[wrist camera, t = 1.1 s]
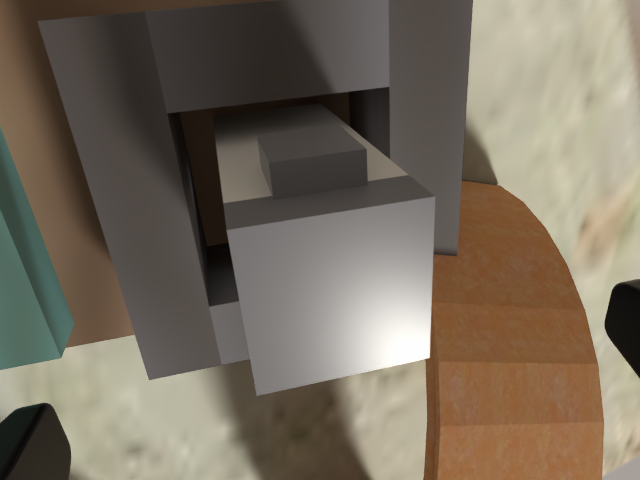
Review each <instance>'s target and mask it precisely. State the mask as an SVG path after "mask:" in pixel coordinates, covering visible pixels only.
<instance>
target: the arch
mask: <svg viewBox="0 0 640 480" xmlns="http://www.w3.org/2000/svg"><path fill="white" fill-rule="evenodd" d="M425 360H426V388H427V433H426V451H425V469H424V479H423V480H602V465H603V436H604V418H603V408H602V398H601V389H600V379H599V369H598V362H597V358H596V354H595V350H594V346H593V341H592V337H591V333H590V329H589V325H588V321H587V316H586V312H585V309H584V307H583V304H582V301H581V299H580V296H579V294H578V291H577V289H576V286H575V284H574V281H573V279H572V276H571V273H570V271H569V268H568V266H567V264H566V262H565V260H564V259H563V257H562V255H561V254H560V252H559V250H558V248H557V247H556V245H555V243H554V242H553V240H552V238H551V236H550V235H549V233H548V231H547V230H546V228H545V227H544V226H543V225H542V223H541V222H540V221H539V220H538V219H537V218H536V216H535V215H534V214H533V213H532V212H531V211H530V209H529V208H528V207H527V206H526V205H525V204H524V202H522V201H521V200H520V199H518V198H517V197H515V196H514V195H513V194H511V193H510V192H508V191H507V190H505V189H504V188H503V187H501V186H498V185H491V184H484V183H476V182H469V181H462V184H461V201H460V217H459V233H458V249H457V256H447V255H435V254H433V276H432V304H431V332H430V358H427V359H425Z"/></svg>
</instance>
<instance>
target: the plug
mask: <svg viewBox="0 0 640 480" xmlns="http://www.w3.org/2000/svg"><path fill="white" fill-rule="evenodd" d="M212 117H213V125H214V133H215V141H216V149H217V157H218V165H219V173H220V181H221V189H222V197H223V206H224V214H225V222H226V230H227V235H228V241H229V246H230V252H231V257H232V263H233V268H234V274H235V279H236V285H237V290H238V296H239V301H240V307H241V312H242V318H243V323H244V329H245V334H246V340H247V345H248V351H249V356H250V362H251V368H252V373H253V379H254V384H255V390H256V395H257V396H259V395H264V394H268V393H273V392H278V391H282V390H287V389H291V388H296V387H300V386H305V385H309V384H314V383H318V382H323V381H327V380H332V379H337V378H341V377H346V376H350V375H355V374H359V373H364V372H368V371H373V370H377V369H382V368H386V367H391V366H396V365H400V364H405V363H409V362H414V361H418V360H423V359H427V358H430V332H431V304H432V276H433V249H434V221H435V196H434V195H433V194H432V193H431V192H429V191H428V190H427V189H426V188H424V187H423V186H422V185H421V184H419V183H418V182H417V181H416V180H415V179H413V178H412V177H411V176H410V175H408V174H407V173H406V172H405V171H403V170H402V169H401V168H400V167H399V166H397V165H396V164H395V163H394V162H392V161H391V160H390V159H389V158H387V157H386V156H385V155H384V154H383V153H381V152H380V151H379V150H378V149H376V148H375V147H374V146H373V145H371V144H370V143H369V142H368V141H367V140H365V139H364V138H363V137H362V136H360V135H359V134H358V133H357V132H355V131H354V130H353V129H352V128H351V127H349V126H348V125H347V124H346V123H344V122H343V121H342V120H341V119H340V118H338V117H337V116H336V115H335V114H333V113H332V112H331V111H330V110H328V109H327V108H326V107H325V106H324V105H322V104H321V103H316V104H307V105H299V106H291V107H283V108H275V109H267V110H259V111H250V112H242V113H234V114H226V115H218V116H212Z"/></svg>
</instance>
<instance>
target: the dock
mask: <svg viewBox="0 0 640 480" xmlns="http://www.w3.org/2000/svg"><path fill="white" fill-rule="evenodd" d="M472 6H473V0H0V370H2V369H7V368H13V367H18V366H23V365H28V364H33V363H38V362H44V361H49V360H54V359H59V358H61V357H62V355H63V352H64V349H65V348H67V347H73V346H78V345H83V344H88V343H94V342H99V341H104V340H109V339H114V338H120V337H125V336H130V335H135V336H136V339H137V343H138V346H139V349H140V352H141V356H142V359H143V362H144V365H145V368H146V372H147V375H148V378H149V380H152V379H156V378H161V377H166V376H171V375H176V374H181V373H185V372H190V371H195V370H200V369H205V368H210V367H214V366H219V365H224V364H229V363H234V362H239V361H243V360H248V359H250V356H249V351H248V345H247V340H246V334H245V329H244V323H243V318H242V312H241V307H240V301H239V296H238V290H237V285H236V279H235V274H234V268H233V263H232V257H231V252H230V246H229V241H228V235H227V230H226V222H225V214H224V206H223V197H222V189H221V181H220V173H219V165H218V157H217V149H216V141H215V133H214V125H213V117H212V116H218V115H226V114H234V113H242V112H250V111H259V110H267V109H275V108H283V107H291V106H299V105H307V104H316V103H321V104H322V105H324V106H325V107H326V108H327V109H328V110H330V111H331V112H332V113H333V114H335V115H336V116H337V117H338V118H340V119H341V120H342V121H343V122H344V123H346V124H347V125H348V126H349V127H351V128H352V129H353V130H354V131H355V132H357V133H358V134H359V135H360V136H362V137H363V138H364V139H365V140H367V141H368V142H369V143H370V144H371V145H373V146H374V147H375V148H376V149H378V150H379V151H380V152H381V153H383V154H384V155H385V156H386V157H387V158H389V159H390V160H391V161H392V162H394V163H395V164H396V165H397V166H399V167H400V168H401V169H402V170H403V171H405V172H406V173H407V174H408V175H410V176H411V177H412V178H413V179H415V180H416V181H417V182H418V183H419V184H421V185H422V186H423V187H424V188H426V189H427V190H428V191H429V192H431V193H432V194H433V195H434V196H435V221H434V249H433V254H435V255H447V256H457V249H458V233H459V217H460V201H461V184H462V168H463V152H464V136H465V120H466V103H467V87H468V71H469V55H470V39H471V22H472Z"/></svg>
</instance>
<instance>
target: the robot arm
mask: <svg viewBox="0 0 640 480" xmlns="http://www.w3.org/2000/svg"><path fill="white" fill-rule="evenodd" d="M605 330H606V333H607V335H608V337H609V338H610V340H611V341H612V342H613V344H614V345H615V346H616V348H617V349H618V350H619V352H620V353H621V354H622V356H623V357H624V358H625V359H626V361H627V362H628V363H629V365H630V366H631V367H632V369H633V370H634V371H635V373H636V374H637V375H638V377H639V378H640V279H636V280H631V281H626V282H621V283H619V284H617V285H616V286H615V287H614V288H613V290H612V293H611V297H610V301H609V305H608V310H607V314H606V318H605ZM70 465H71V449H70V444H69V441H68V439H67V437H66V434H65V432H64V430H63V428H62V425H61V423H60V421H59V419H58V416H57V414H56V412H55V410H54V408H53V407H52V406H51V405H50V404H48V403H41V404H36V405H31V406H26V407H22V408H19V409H16V410H15V411H13V412H12V413H11V414H10V415H9V416H8V417H7V418H5V419H4V420H3V421H2V422H1V423H0V480H69V474H70Z"/></svg>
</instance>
